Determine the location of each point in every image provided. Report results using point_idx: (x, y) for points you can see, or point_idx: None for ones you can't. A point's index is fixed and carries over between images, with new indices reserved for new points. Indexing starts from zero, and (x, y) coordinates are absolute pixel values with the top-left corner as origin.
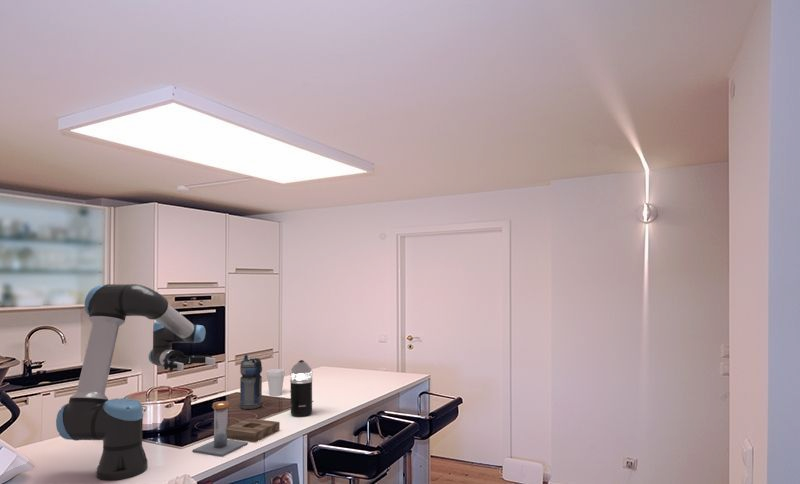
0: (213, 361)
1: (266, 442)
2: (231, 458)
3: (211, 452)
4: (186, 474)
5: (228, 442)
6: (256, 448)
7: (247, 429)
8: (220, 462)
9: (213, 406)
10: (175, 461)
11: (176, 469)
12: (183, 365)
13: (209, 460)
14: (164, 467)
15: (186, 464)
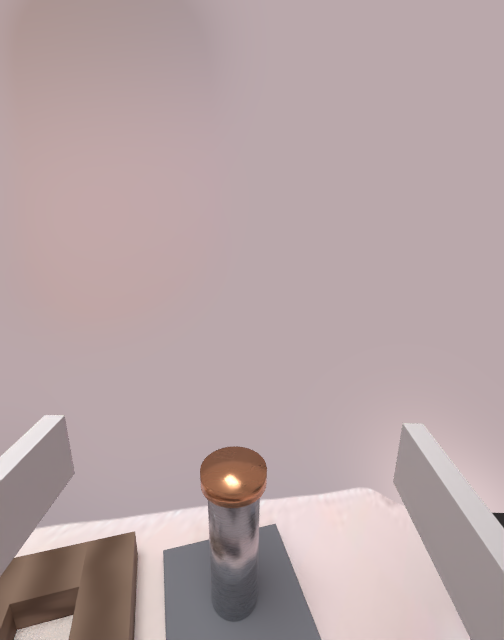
0: (64, 444)
1: (126, 526)
2: (266, 502)
3: (288, 562)
4: (387, 499)
5: (192, 607)
6: (180, 510)
7: (100, 590)
8: (298, 501)
9: (266, 476)
10: (402, 611)
11: (406, 544)
12: (400, 440)
13: (312, 532)
14: (440, 587)
15: (375, 556)
